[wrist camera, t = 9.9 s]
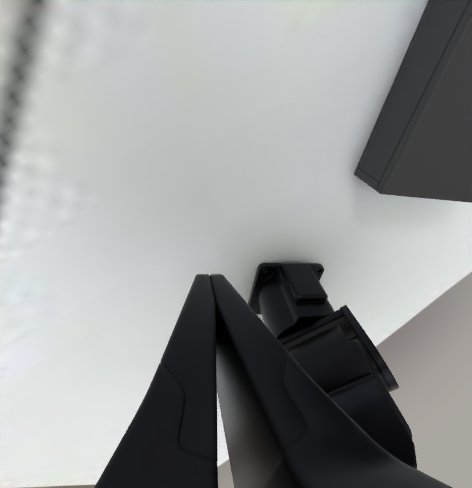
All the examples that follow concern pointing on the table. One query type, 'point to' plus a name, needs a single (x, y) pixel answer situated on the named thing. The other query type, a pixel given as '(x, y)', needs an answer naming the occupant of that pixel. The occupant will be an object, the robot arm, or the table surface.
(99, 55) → the table surface
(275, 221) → the table surface
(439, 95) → the lid
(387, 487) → the robot arm
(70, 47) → the table surface
